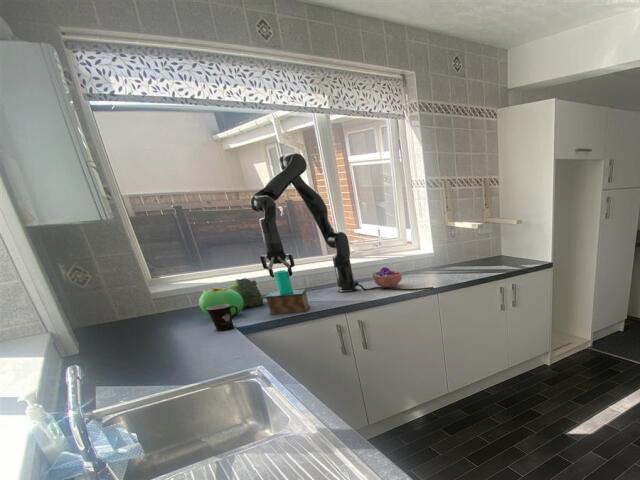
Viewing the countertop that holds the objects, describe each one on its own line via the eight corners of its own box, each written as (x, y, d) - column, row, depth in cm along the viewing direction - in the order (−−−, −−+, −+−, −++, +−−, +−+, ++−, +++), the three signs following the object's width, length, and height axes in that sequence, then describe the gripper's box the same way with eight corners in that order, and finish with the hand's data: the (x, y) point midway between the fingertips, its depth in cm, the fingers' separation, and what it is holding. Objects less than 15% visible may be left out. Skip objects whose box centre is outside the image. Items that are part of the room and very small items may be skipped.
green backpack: (223, 306, 222) (214, 278, 215) (264, 302, 230) (257, 275, 222) (221, 313, 214) (211, 284, 206) (264, 309, 221) (256, 281, 214)
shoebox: (310, 306, 220) (305, 289, 216) (306, 311, 211) (301, 293, 207) (275, 309, 216) (270, 291, 213) (270, 314, 207) (265, 296, 203)
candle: (284, 294, 206) (277, 269, 201) (277, 293, 209) (270, 268, 204) (295, 292, 211) (289, 267, 205) (288, 290, 213) (282, 266, 208)
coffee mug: (215, 333, 183) (208, 310, 178) (212, 328, 189) (204, 307, 184) (245, 327, 189) (239, 305, 185) (241, 323, 195) (235, 302, 191)
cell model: (377, 292, 245) (373, 272, 240) (372, 285, 261) (369, 267, 256) (406, 288, 251) (403, 269, 246) (399, 282, 267) (397, 264, 262)
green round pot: (200, 323, 197) (189, 292, 190) (209, 314, 211) (199, 285, 204) (244, 318, 202) (234, 288, 196) (250, 309, 217) (241, 281, 210)
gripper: (290, 239, 204) (299, 274, 211) (258, 241, 201) (268, 276, 208) (287, 241, 197) (296, 277, 204) (253, 243, 194) (263, 279, 201)
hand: (281, 276), depth 206 cm, fingers open, 7 cm apart
